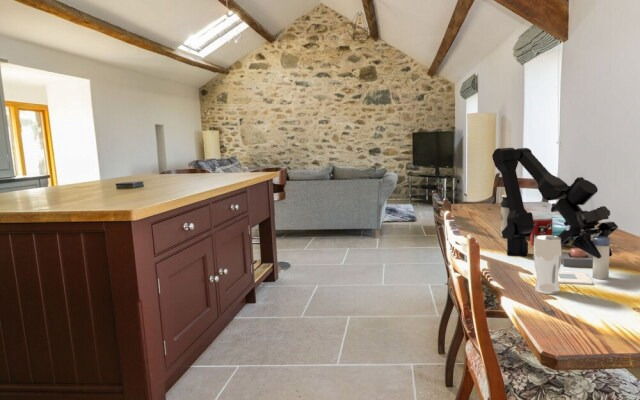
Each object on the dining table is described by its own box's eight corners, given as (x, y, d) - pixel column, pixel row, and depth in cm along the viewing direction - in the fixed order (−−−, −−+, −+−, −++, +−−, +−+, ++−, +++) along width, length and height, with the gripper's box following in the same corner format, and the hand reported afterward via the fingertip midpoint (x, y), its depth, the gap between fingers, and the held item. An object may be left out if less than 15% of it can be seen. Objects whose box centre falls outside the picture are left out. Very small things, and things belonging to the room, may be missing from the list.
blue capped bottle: (594, 279, 130) (594, 239, 128) (590, 275, 134) (591, 236, 132) (610, 280, 128) (611, 239, 127) (606, 275, 132) (607, 236, 131)
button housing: (563, 266, 144) (563, 258, 144) (558, 258, 153) (558, 251, 153) (599, 267, 141) (599, 259, 140) (591, 259, 150) (591, 252, 150)
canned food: (531, 246, 172) (531, 218, 171) (529, 242, 179) (529, 215, 178) (553, 247, 169) (553, 219, 168) (551, 242, 176) (551, 215, 175)
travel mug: (522, 235, 192) (522, 194, 190) (519, 239, 185) (519, 196, 183) (503, 234, 196) (502, 194, 194) (499, 238, 189) (499, 196, 187)
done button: (571, 259, 146) (571, 251, 145) (569, 256, 150) (569, 247, 149) (587, 260, 144) (587, 251, 144) (584, 257, 148) (584, 248, 148)
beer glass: (550, 296, 118) (550, 241, 116) (527, 289, 124) (527, 237, 122) (567, 291, 121) (567, 237, 119) (544, 285, 127) (544, 233, 125)
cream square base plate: (549, 282, 129) (549, 280, 129) (544, 272, 139) (544, 270, 139) (592, 284, 125) (592, 282, 125) (584, 273, 136) (584, 271, 136)
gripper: (565, 200, 129) (600, 245, 120) (612, 195, 135) (648, 237, 126) (544, 223, 137) (574, 266, 128) (589, 217, 143) (621, 258, 134)
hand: (605, 256), depth 129 cm, fingers closed on blue capped bottle, 4 cm apart
